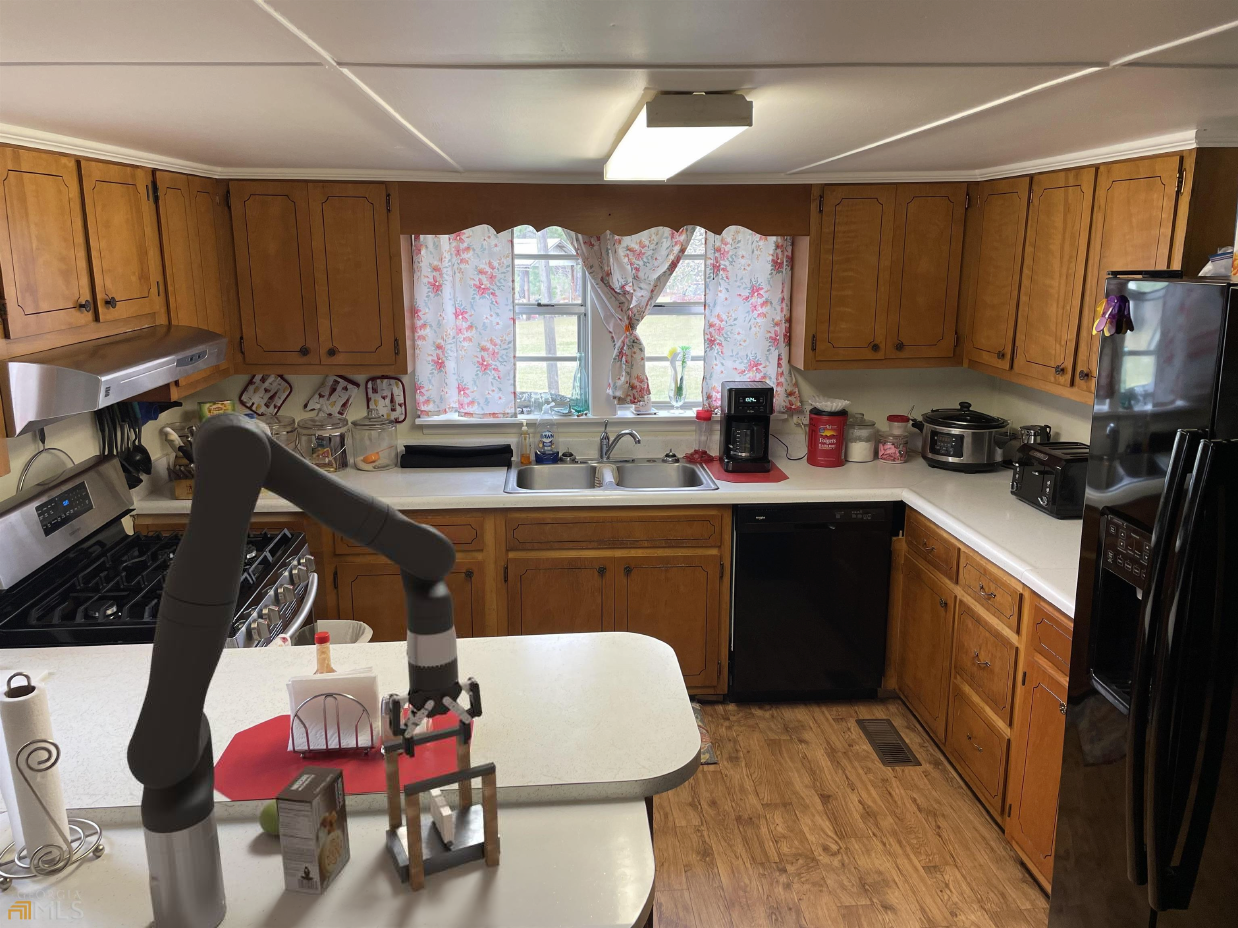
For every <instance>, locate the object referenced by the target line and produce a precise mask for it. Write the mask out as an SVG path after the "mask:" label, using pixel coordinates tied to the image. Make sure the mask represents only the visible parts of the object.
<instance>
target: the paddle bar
mask: <svg viewBox="0 0 1238 928" xmlns="http://www.w3.org/2000/svg"><path fill="white" fill-rule="evenodd" d="M442 794H443V793H442V792H441V790H440V788H436V789H432V790H429V805H430V817H431V818H433V820H434V822H435V823H436V826H437V828H438V830H439V832H440V833H441V836H442V838H443V840H444V842H445V843H446V845H447V847H448V848H451V847H452V846H453V842H452V841H453V840H454V837H453V817H452V812H453V811H452V810H451V809H450V806H449V805H448V802H447V801H446V799H445V798H444V796H443V795H442Z"/></svg>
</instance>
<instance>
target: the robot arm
mask: <svg viewBox="0 0 1238 928" xmlns="http://www.w3.org/2000/svg"><path fill="white" fill-rule="evenodd" d="M191 442H192V443H191V444H192V445H191V448H192V449H191V450H192V457H193V462H194V463H193V464H194V474H193V475H194V478H193V479H194V480H193V486H192V487H193V488H192V496H191V504H190V510H189V512H190V513H189V518H188V521H187V524H186V527H185V530H184V533H183V536H182V537H181V540H180V542H179V544H178V546H177V549H176V550H175V553H174V555H173V557H172V560H171V562H170V565H169V569H168V571H167V573H166V577H165V581H164V585H163V588H162V594H161V599H160V603H159V607H158V612H157V613H158V614H157V619H156V627H155V632H154V639H153V644H152V650H151V658H150V670H149V677H148V684H147V687H146V692H145V696H144V699H143V703H142V706H141V708H140V709H141V710H140V712H139V716H138V718H137V720H136V724H135V726H134V730H133V732H132V735H131V738H130V740H129V743H128V745H127V749H126V750H127V751H126V761H127V762H126V763H127V764H128V769H129V771H130V773H131V775H132V776H133V777H134V779H135V780H136V782H137V781H138V782H139V783H140V784H141V785H143V788H142V789H143V791H142V796H141V801H140V815H141V822H142V828H143V836H144V845H145V850H146V852H145V853H146V858H147V859H146V860H147V866H148V886H149V893H150V901H151V908H152V917H153V923H154V928H216V927H218V925H219V924H220V923H221V922H222V921H223V919H224V918H225V916H226V913H227V902H226V897H227V896H226V893H225V884H224V875H223V865H222V861H221V859H222V857H221V848H220V842H219V834H218V825H217V817H216V815H217V814H216V806H215V798H214V797H215V780H216V777H215V776H216V775H215V762H214V750H213V749H214V748H213V739H212V730H211V725H210V721H209V719H208V716H207V715H206V712H205V710H204V708H205V703H206V697H207V694H208V691H209V687H210V685H211V682H212V680H213V677H214V675H215V672H216V669H217V667H218V664H219V663H220V659H221V657H222V654H223V652H224V650H225V646H226V643H227V640H228V638H229V634H230V632H231V631H230V630H231V627H232V625H233V621H234V615H235V613H236V612H235V611H236V608H237V607H236V606H237V602H238V598H239V593H240V587H241V581H242V576H243V569H244V565H245V557H246V547H247V539H248V534H249V528H250V526H251V525H250V524H251V522H252V517H253V515H254V511H255V510H256V505H257V503H258V500H259V497H260V495H261V492H262V490H263V489H264V490H266V491H268V492H270V493H273V494H274V495H276V496H277V497H280V498H281V499H283V500H285V501H287V502H289V503H290V504H292V505H294V507H296V508H298V509H299V510H301V511H302V512H304V513H305V514H306V515H308V516H309V517H311V518H312V519H314V520H315V521H317V522H318V523H320V524H321V525H323V526H324V527H325V528H327V529H329V530H330V531H332V532H333V533H336V534H337V535H339V536H341V537H343V538H345V539H347V540H349V541H351V542H353V543H355V544H357V545H359V546H361V547H363V548H366V549H367V550H370V551H373V552H375V553H377V554H379V555H380V556H382V557H383V558H386V559H387V560H388V561H390V562H391V563H394V564H395V565H397V566H398V568H399V574H400V579H401V583H402V588H403V591H404V595H405V601H406V603H405V604H406V605H405V612H406V626H407V629H406V630H407V633H406V656H407V669H408V683H409V688H408V692H407V694H403V695H397V694H396V693H391V694H390V695H389V696H388V728H389V731H390V732H391V734H392V737H397V738H398V737H399V736H400V737H401V739H402V744H403V749H402V750H403V753H405V755H406V756H408V757H409V759H413V758H415V757H416V755H415V754H416V753H415V746H414V737H413V736H414V735H413V734H414V732H415V731H416V729H417V728H418V727H419V726H421V725H422V723H423V721H424V720H425V718H427V719H428V720H429V719H432V718H434V717H436V716H444V715H448V713H449V712H450V711H452V712H453V714H455V715H456V716H457V717H459V718H458V725H459V733H460V741H461V742H462V744H463V745H466V744H468V740H469V741H471V739H472V726H471V722H472V720H473V719H475V718H480V717H481V716H482V715H483V708H482V706H483V705H482V699H481V690H480V688H481V687H480V683H478V681H477V680H476V678H474V676H470V677H468V678H467V680H466V681H462V682H459V680H460V679H459V663H458V660H459V659H458V645H457V634H456V628H455V618H454V602H453V597H452V593H451V591H450V589H449V588H448V586H447V583H446V580H445V578H446V576H447V575H449V574H450V573H451V571H453V569H454V568H455V565H456V562H457V552H456V549H455V547H454V545H453V543H452V542H451V540H450V539H449V538H448V537H447V536H445V535H444V534H443V533H441V532H440V531H439V530H438V529H436V528H435V527H434V526H432V525H428V524H424V523H418V522H416V521H414V520H412V519H411V518H408V517H406V516H405V515H404V514H402V513H401V512H400V511H399V510H397V508H395V507H393V506H392V505H390V504H388V503H386V502H385V501H383V500H381V499H379V498H377V497H376V496H373V494H372V495H371V494H370V493H368V492H366V491H364V490H362V489H360V488H358V487H357V486H354V485H353V484H351V483H348V482H346V481H345V480H343V479H341V478H339V477H337V476H336V475H333V474H331V473H330V472H327V471H325V470H324V469H322V468H319V467H318V466H316V465H314V464H312V463H311V462H310V461H308V460H307V459H305V458H303V457H302V456H300V455H299V454H297V453H296V452H293V451H292V450H290V448H288V447H286V446H285V445H284V444H282V443H281V442H280V441H278V440H277V439H275V438H274V437H273V436H271V435H270V434H269V433H268V432H267V431H265V430H264V429H263V428H261V426H260V425H259V424H257V422H256V421H254V419H251V418H250V417H248V416H247V415H244V414H241V413H238V412H232V411H227V412H225V411H224V412H218V413H214V414H212V415H210V416H208V417H207V418H205V419H203V420H202V421H201V422H200V423H199V425H197V427H196V429H195V430H194V432H193V437H192V441H191ZM463 691H464V692H465V694H466V695H467V696H468V699H469V708H467V709H465V708H464V707H463V706H462V705H461V704H460V703H459V702H458V700H459V697H460V696H461V694H462V693H463ZM406 704H409V705H410V706H411V708H410V709H409V710H408V712H407V716H406V718H405V719H404V721H403V722H402V724H401V712H402V711H403V710H404V709H405V705H406Z"/></svg>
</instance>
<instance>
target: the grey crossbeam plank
mask: <svg viewBox="0 0 1238 928" xmlns="http://www.w3.org/2000/svg"><path fill="white" fill-rule="evenodd" d="M492 773H496V774H497V766H496V764H495V763H494V761H491V762H487V763H483V764H480V765H476V766H471V768H468V769H464V770H460V771H457V770H456V771H453V772H449V773H445V774H440V775H437V776H433V777H430V778H429V777H428V778H425V779H422V780H417V781H415V782H410V783H407V784H403V795H404V794H405V796H410V795H414V794H417V793H419V794H421V793H424V792H427V791H429V792H430V790H432V789H436V788H439V789H440V788H444V787H446V786H450V785H454V784H458V783H459V782H462V781H466V780H470V779H471V780H473V779H477V778H481V776H485V775H489V774H492Z"/></svg>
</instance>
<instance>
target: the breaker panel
mask: <svg viewBox="0 0 1238 928" xmlns="http://www.w3.org/2000/svg"><path fill="white" fill-rule="evenodd" d="M451 812H452V817H453V837H454V840H453V841H452V842H453V846H452V847H451V848H448V847H447V845H446V843H445V842H444V840H443V838H442V836H441V833H440V832H439V830H438V828H437V826H436V823H435V822H434V820H433V818H432V817H430V818H426V819H421V835H422V852H423V869H424V877H427V876H430V875H433V874H436V873H440V872H443V871H447V870H451V869H453V868H456V867H460V866H463V865H466V864H470V863H473V862H476V861H479V860H482V859H485V852H484V829H483V805H481V803H479V804H475V805H472V806H471V807H468V808H464V809H461V810H459V809H457V810H454V811H451ZM385 839H386V848H387V851H388V854H389V856H390V858H391V861H392V863H393V866H394V869H395V871H396V873H397V875H398V878H399V881H400V884H404V883H408V882H410V877H409V861H408V845H407V829H406V824H404V825H402V826H400V827H396V828H393V829H386V830H385ZM498 841H499V854H501V836H500V834H498Z"/></svg>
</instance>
